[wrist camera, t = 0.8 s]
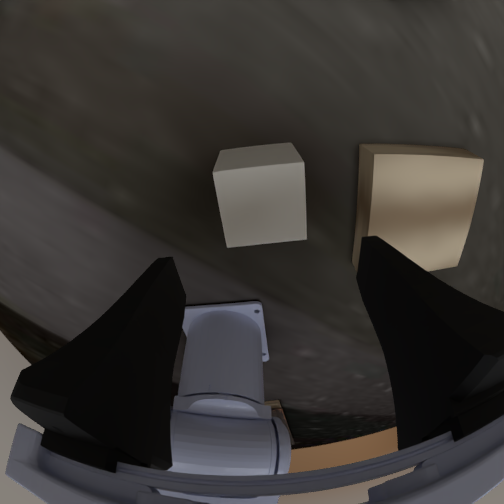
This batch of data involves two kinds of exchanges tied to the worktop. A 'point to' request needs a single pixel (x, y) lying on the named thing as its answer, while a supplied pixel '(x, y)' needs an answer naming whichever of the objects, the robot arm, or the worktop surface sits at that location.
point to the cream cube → (261, 194)
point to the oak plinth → (417, 200)
